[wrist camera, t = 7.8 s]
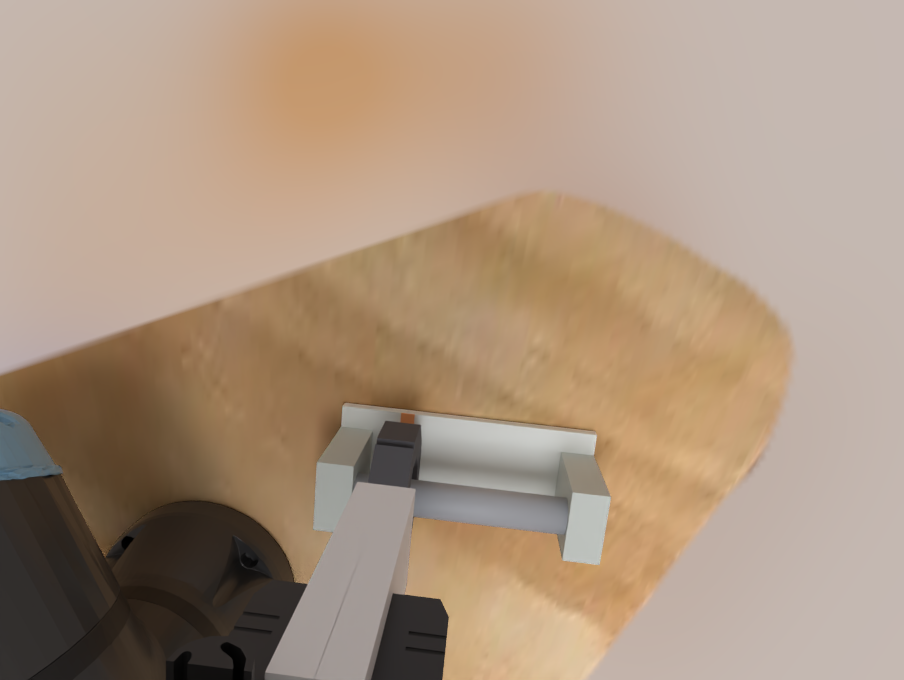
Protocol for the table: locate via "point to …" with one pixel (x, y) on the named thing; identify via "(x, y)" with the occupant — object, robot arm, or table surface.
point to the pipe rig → (479, 475)
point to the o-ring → (396, 455)
